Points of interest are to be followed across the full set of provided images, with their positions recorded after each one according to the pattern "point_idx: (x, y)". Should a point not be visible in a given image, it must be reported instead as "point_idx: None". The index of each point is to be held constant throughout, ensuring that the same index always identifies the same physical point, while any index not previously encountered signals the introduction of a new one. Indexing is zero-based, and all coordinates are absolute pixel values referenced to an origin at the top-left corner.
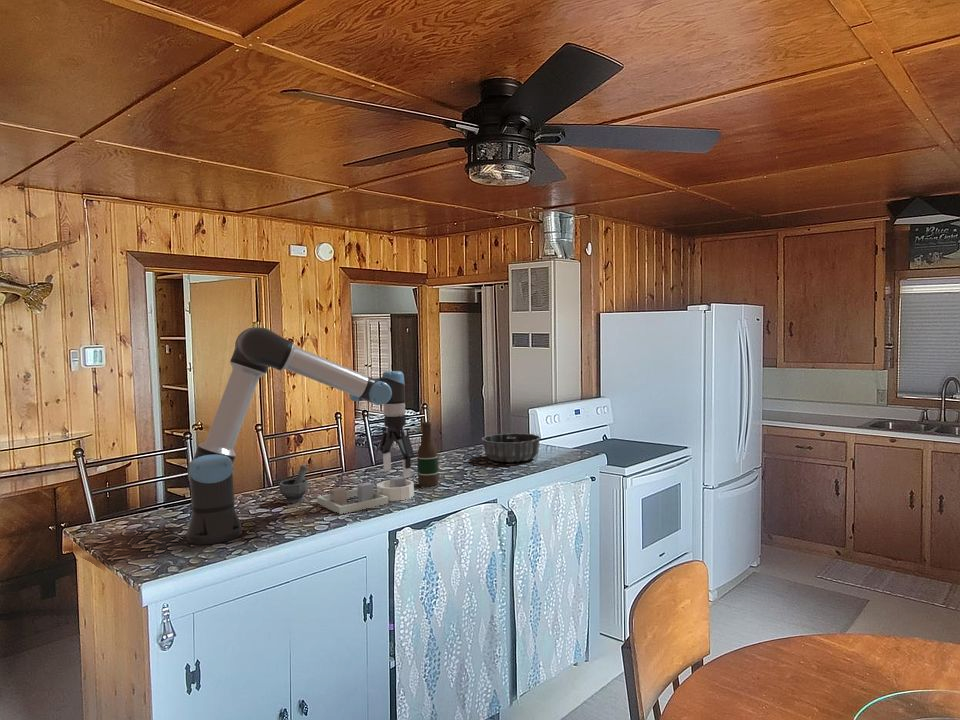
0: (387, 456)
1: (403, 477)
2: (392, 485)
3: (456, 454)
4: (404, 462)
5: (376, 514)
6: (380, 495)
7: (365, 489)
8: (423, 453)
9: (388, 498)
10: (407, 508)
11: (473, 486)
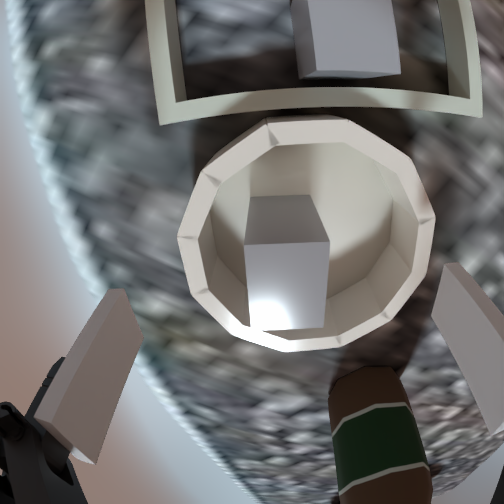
0: (496, 389)
1: (118, 291)
2: (278, 220)
3: (485, 450)
4: (53, 396)
5: (46, 29)
6: (228, 94)
7: (302, 5)
8: (375, 499)
9: (226, 145)
10: (56, 178)
11: (236, 442)
